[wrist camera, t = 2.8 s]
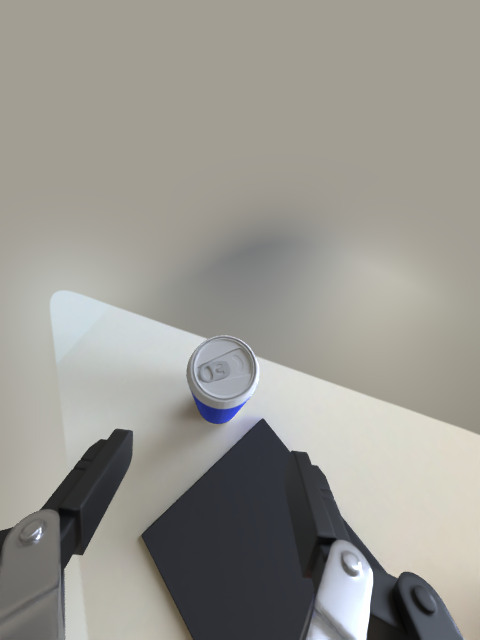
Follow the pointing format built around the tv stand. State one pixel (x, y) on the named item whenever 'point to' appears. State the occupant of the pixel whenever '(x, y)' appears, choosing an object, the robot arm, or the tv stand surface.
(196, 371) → the beverage can
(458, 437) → the tv stand surface
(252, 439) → the mat
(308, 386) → the tv stand surface
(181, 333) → the tv stand surface
